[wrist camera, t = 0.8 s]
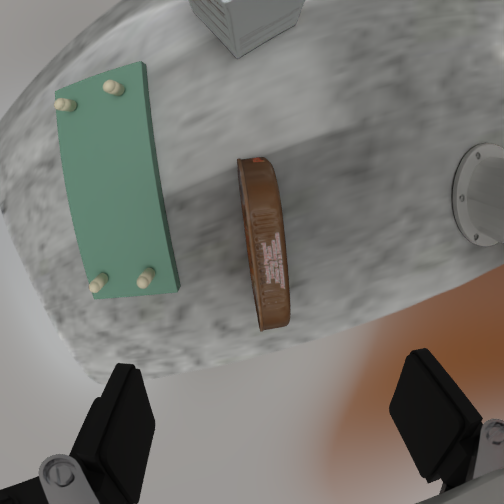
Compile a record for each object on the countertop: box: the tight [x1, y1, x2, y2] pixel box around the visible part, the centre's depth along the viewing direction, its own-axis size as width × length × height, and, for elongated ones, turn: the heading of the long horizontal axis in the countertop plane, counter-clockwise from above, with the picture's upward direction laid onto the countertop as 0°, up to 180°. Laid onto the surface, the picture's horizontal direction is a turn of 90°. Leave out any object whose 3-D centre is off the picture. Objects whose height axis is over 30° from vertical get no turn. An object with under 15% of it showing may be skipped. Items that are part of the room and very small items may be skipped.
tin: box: [237, 157, 290, 331], centre depth 26 cm, size 15×3×8 cm, turn 7°
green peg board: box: [54, 61, 180, 299], centre depth 26 cm, size 10×23×5 cm, turn 7°
